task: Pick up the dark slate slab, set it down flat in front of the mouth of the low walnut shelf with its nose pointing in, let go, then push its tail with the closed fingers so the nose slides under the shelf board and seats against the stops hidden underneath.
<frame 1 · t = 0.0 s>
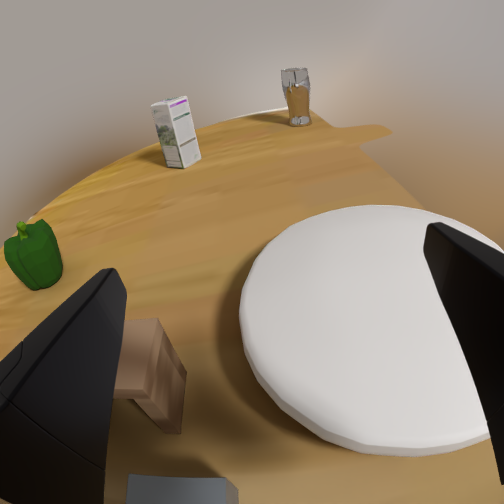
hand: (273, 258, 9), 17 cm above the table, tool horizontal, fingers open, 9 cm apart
beer glass: (300, 124, 80), on the table
bell pepper: (48, 280, 40), on the table
walnut shelf: (119, 404, 23), on the table
plate: (394, 320, 27), on the table
syrup box: (184, 164, 67), on the table
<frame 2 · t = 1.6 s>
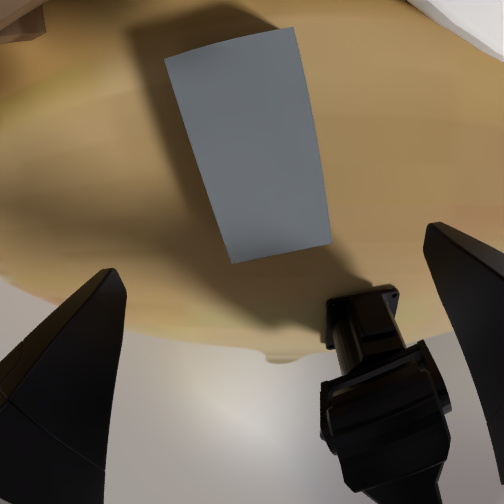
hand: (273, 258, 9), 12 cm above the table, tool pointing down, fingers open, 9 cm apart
slate slab: (255, 136, 19), on the table
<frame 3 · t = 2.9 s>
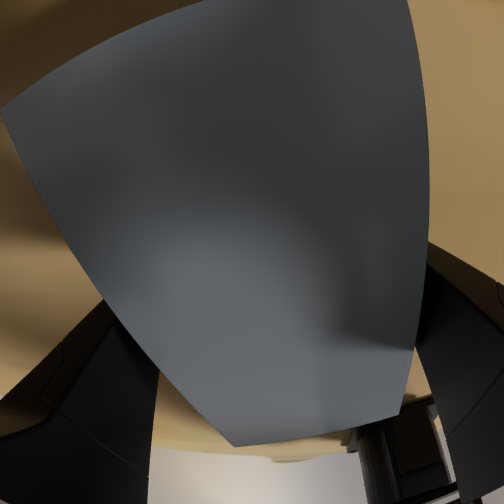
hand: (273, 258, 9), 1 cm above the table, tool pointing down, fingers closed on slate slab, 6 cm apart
slate slab: (269, 232, 10), on the table, touching gripper
when the fingers open (1 cm above the table, at t = 6.8 s): slate slab stays where it is, on the table.
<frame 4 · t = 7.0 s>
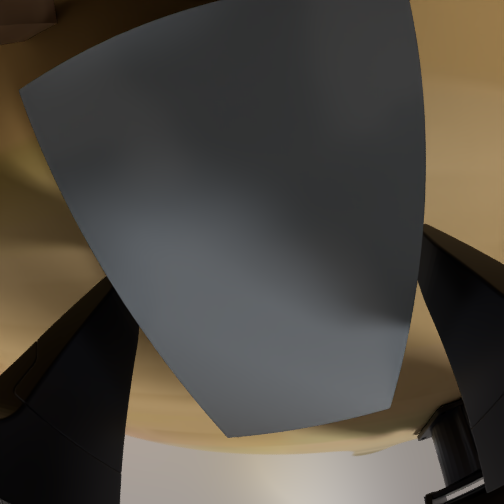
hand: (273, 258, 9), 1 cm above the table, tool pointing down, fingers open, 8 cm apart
slate slab: (268, 224, 10), on the table
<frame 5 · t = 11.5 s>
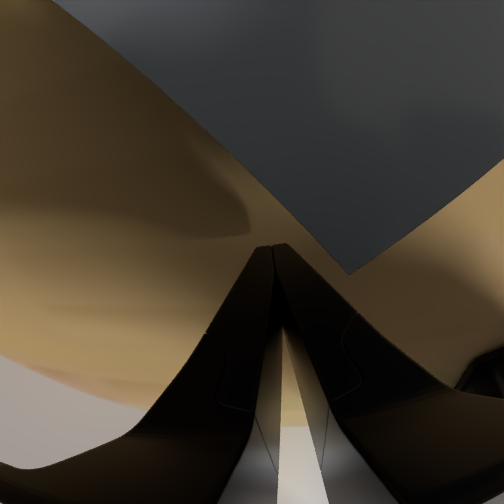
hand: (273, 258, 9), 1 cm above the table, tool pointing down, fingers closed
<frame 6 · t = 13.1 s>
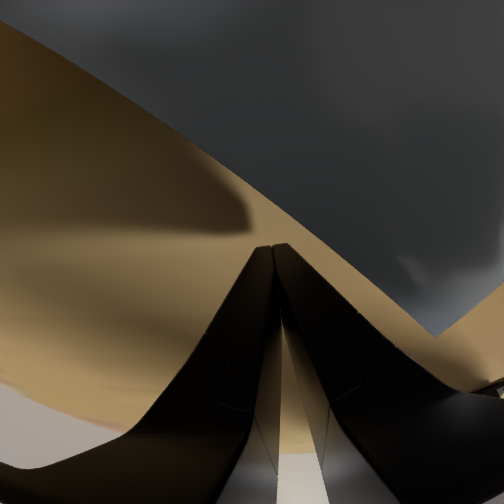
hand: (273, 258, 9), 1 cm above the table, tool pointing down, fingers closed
slate slab: (326, 39, 6), on the table
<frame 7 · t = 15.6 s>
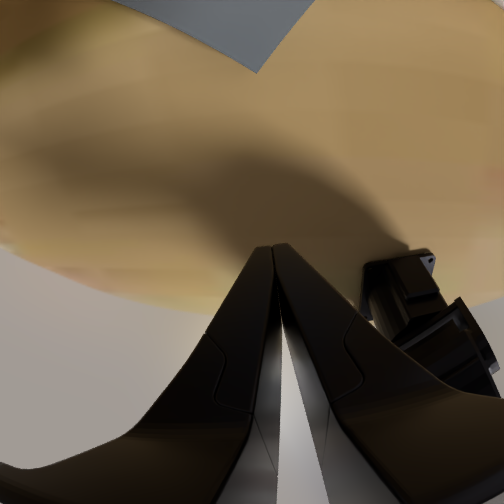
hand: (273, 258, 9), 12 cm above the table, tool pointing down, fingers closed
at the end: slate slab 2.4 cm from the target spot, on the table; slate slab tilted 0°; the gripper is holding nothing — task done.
